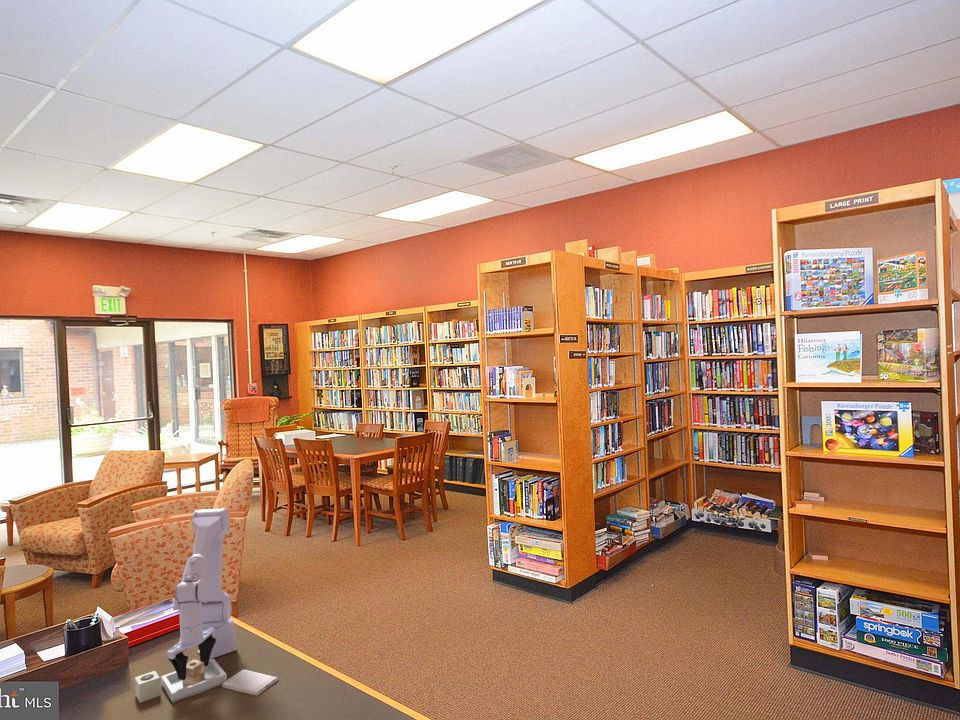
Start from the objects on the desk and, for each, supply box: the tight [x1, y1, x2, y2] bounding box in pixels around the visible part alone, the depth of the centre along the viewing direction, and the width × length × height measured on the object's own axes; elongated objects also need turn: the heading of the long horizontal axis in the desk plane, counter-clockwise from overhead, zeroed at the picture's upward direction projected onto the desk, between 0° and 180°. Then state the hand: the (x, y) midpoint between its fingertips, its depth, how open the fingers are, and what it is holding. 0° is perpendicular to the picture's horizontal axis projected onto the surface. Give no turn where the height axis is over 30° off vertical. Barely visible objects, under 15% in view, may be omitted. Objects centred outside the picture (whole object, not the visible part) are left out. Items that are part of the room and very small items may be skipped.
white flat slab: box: [221, 669, 279, 696], centre depth 170 cm, size 2×8×12 cm
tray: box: [160, 658, 228, 704], centre depth 171 cm, size 14×12×2 cm
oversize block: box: [134, 670, 161, 704], centre depth 166 cm, size 5×5×5 cm
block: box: [182, 659, 205, 686], centre depth 171 cm, size 4×4×5 cm
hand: (193, 671), depth 171 cm, fingers open, 7 cm apart
